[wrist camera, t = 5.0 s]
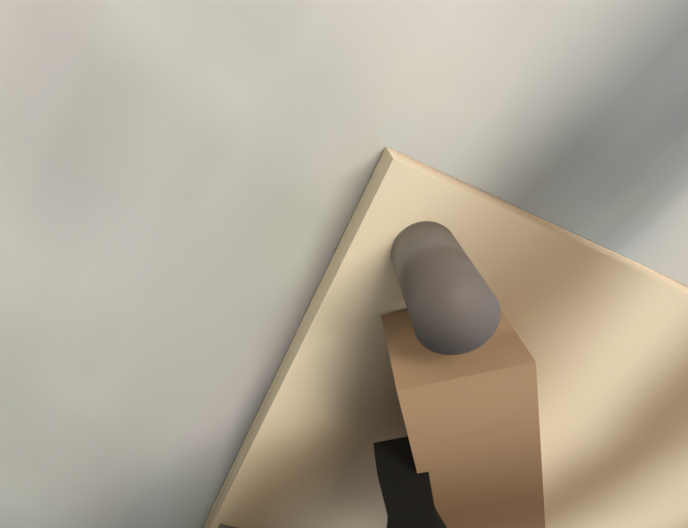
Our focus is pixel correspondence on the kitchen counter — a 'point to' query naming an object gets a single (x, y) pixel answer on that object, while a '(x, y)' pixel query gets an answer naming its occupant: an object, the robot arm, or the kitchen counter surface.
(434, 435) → the folding leg
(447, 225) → the stool seat
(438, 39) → the kitchen counter surface
